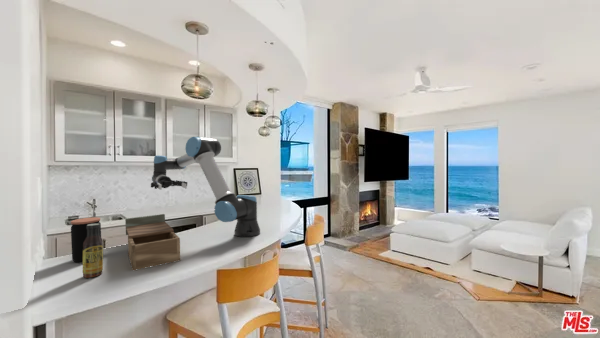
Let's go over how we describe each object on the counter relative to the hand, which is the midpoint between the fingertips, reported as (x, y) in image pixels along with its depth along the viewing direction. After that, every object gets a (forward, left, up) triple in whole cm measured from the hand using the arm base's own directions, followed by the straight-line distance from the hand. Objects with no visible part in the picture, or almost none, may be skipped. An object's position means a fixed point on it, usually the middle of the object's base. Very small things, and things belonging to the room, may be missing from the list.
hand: (173, 186), depth 155 cm
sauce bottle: (-14, +50, -30) cm, 60 cm away
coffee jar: (+9, +40, -30) cm, 51 cm away
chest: (-19, +28, -29) cm, 45 cm away
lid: (-6, +21, -22) cm, 31 cm away
